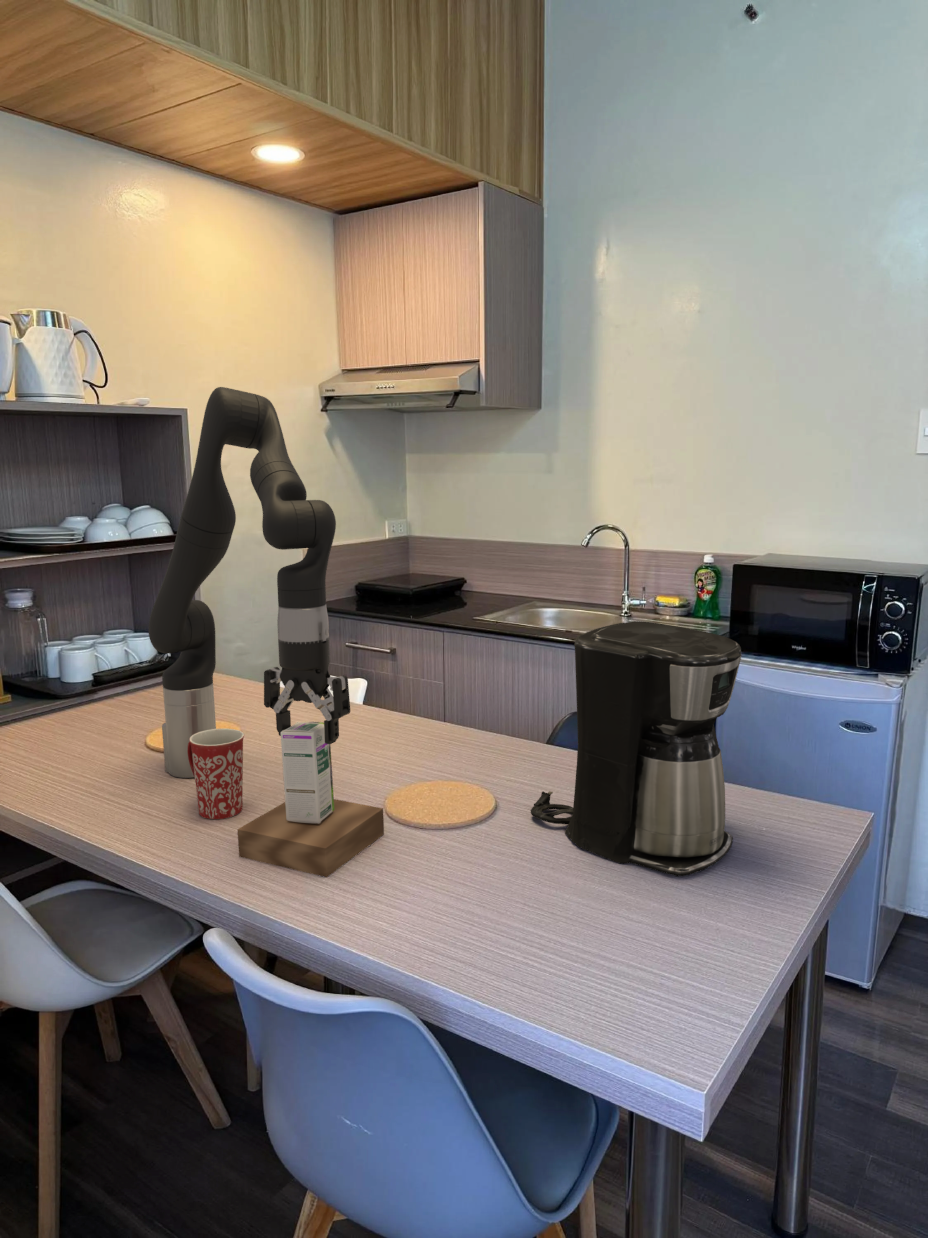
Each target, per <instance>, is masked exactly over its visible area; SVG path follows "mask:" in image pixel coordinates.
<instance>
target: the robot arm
mask: <svg viewBox="0 0 928 1238" xmlns="http://www.w3.org/2000/svg"><path fill="white" fill-rule="evenodd" d="M280 423H281V422H280V419H279V417H278V413H277V411H276V408H275V406H274V405H273V403H272V402H271V400H269V399H268V398H267V397H266V396H263V395H260V394H256V393H252V392H247V391H244V390H239V389H234V388H229V387H225V386H217V387H216V388H214V390H212V392H211V394H210V395H209V397H208V400H207V403H206V405H205V410H204V415H203V419H202V423H201V429H200V436H199V442H198V447H197V451H196V452H197V453H196V458H195V464H194V466H193V467H194V468H193V472H192V476H191V481H190V485H189V488H188V490H187V494H186V498H185V502H184V504H183V508H182V511H181V514H180V515H181V516H180V518H179V523H178V526H177V530H176V536H175V539H174V540H175V541H174V544H173V548H172V551H171V556H170V559H169V562H168V565H167V567H166V568H167V569H166V573H165V575H164V577H163V581H162V583H161V586H160V589H159V590H158V591H159V592H158V593H157V596H156V599H155V601H154V604H153V605H152V610H151V612H150V615H149V620H148V638H149V641H150V643H151V645H152V647H153V649H155V650H156V651H157V652H159V653H162V654H176V653H180V654H179V656H178V658H177V659H176V660H175V661H174V662H173V664H171V665H170V666H169V667H167V668H166V669H165V670H164V671H163V673H162V677H161V681H162V682H161V683H162V691H163V692H162V693H163V706H164V718H165V722H164V723H163V724H162V725H161V730H162V731H161V732H162V745H163V758H164V771H165V772H166V773H167V772H168V773H169V774H170V775H171V776H172V777H176V778H181V779H182V778H184V779H185V778H186V779H188V778H189V779H191V778H195V777H194V775H193V772H192V770H191V767H190V764H189V759H188V752H187V750H188V743H189V739H190V737H191V736H192V735H194V734H196V733H198V732H202V731H206V730H211V729H217V724H216V723H217V722H216V710H215V709H216V706H215V693H214V673H215V670H216V664H217V663H216V662H217V661H216V660H217V659H216V625H215V619H214V615H213V612H212V610H211V609H210V607H209V606H208V604H207V603H205V602H204V601H203V600H199V599H194V596H195V595H196V593H197V591H198V589H199V588H200V587H201V585H202V584H203V583H204V582H205V580H206V579H207V578H208V577H209V576H210V575H211V573H213V571H214V570H215V569H216V567H217V566H219V564H220V563H221V561H222V560H223V559H224V557H225V555H226V554H227V552H228V549H229V547H230V543H231V540H232V536H233V533H234V529H235V526H236V519H237V517H236V516H237V515H236V509H235V505H234V503H233V500H232V497H231V494H230V492H229V489H228V487H227V484H226V482H225V479H224V478H225V477H224V475H223V471H222V455H223V454H222V453H223V449H224V447H225V445H226V446H233V447H239V448H243V449H254V450H256V451H258V452H257V453H256V455H255V457H254V458H253V460H252V462H251V465H250V469H249V477H250V481H251V485H252V487H253V490H254V491H255V493H256V495H257V498H258V499H259V501H260V504H261V509H262V522H261V524H262V525H261V527H262V534H263V537H264V539H265V542H266V543H267V544H268V545H270V546H271V547H273V548H275V549H277V550H285V551H286V550H302V549H303V550H304V549H307V551H306V554H305V555H304V556H303V558H302V559H301V560H299V561H298V562H295V563H292V564H288V565H285V566H283V567H281V568H280V569H279V570H278V572H277V578H276V579H277V580H276V581H277V582H276V585H277V602H278V603H277V605H278V607H277V608H278V611H277V619H276V620H277V624H276V625H277V641H278V644H277V645H278V665H279V667H278V666H275V667H273V668H272V667H271V668H269V669H265V670H264V671H263V705H264V707H265V708H271V709H272V710H273V711H274V713H275V721H276V722H275V726H276V727H275V728H276V732H278V736H279V737H281V733H280V732H282V731H283V730H285V729H287V728H289V727H291V726H292V722H291V721H292V720H291V719H292V718H291V717H292V716H291V710H289V709H290V707H291V705H293V702H302V701H303V702H305V703H306V704H307V703H308V704H312V703H313V705H314V707H315V708H316V709H317V710H319V711H320V712H321V715H322V716H323V718H324V719H325V720H323V723H324V734H325V743H326V744H330V745H332V744H334V743H336V742H337V740H338V739H339V737H340V730H339V729H340V721H339V719H340V718H343V717H346V716H347V715H350V713H351V701H350V690H349V687H350V686H349V678H348V676H347V675H345V674H344V675H341V676H331V674H330V671H329V666H330V662H331V654H330V653H331V652H330V651H331V650H330V628H329V627H330V626H329V624H330V623H329V614H328V609H327V595H326V594H327V591H326V590H327V588H326V576H327V571H328V570H327V569H328V564H329V560H330V554H331V549H332V546H333V543H334V540H335V535H336V534H335V533H336V527H337V521H336V516H335V512H334V510H333V509H332V506H330V505H329V503H327V502H326V501H325V500H320V499H308V500H307V497H308V496H307V489H306V486H305V484H304V482H303V480H302V478H301V477H300V475H299V473H298V471H297V470H296V468H295V466H294V465H293V463H292V461H291V459H290V457H289V453H288V449H287V445H286V441H285V438H284V433H283V430H282V426H281V424H280ZM280 668H281V669H280ZM281 683H282V684H283V687H284V689H282V690H281ZM329 686H330V688H329ZM322 698H323V699H322Z"/></svg>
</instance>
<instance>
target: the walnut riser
mask: <svg viewBox="0 0 928 1238" xmlns="http://www.w3.org/2000/svg"><path fill="white" fill-rule="evenodd" d="M384 823H385V822H384V808H383V807H378V806H373V805H366V804H362V803H357V802H352V801H346V800H340V799H336V798H334V811H333V812H331V813H330V814H329V815H328V816H327V817H326V818H325V819H323V820H322V821H321V823H319V824H318V823H302V822H293V821H287V819H286V806H285V801H284V802H283V803H281V804H280V805H277V806H276V807H274V808H272V809H271V810H268V811H267V812H266V813H263V814H261V815H260V816H258V817H257V818H255V819H253V820H251V821H250V822H248V823H246V824H244V825H242V826H240V827H239V828H237V843H238V845H237V846H238V857H239V858H243V859H246V860H247V859H248V860H251V861H254V862H255V861H256V862H260V863H265V864H268V865H272V866H276V867H280V868H281V867H282V868H286V869H289V870H294V871H299V872H302V873H305V874H306V873H307V874H311V875H315V876H319V875H320V877H323V876H324V878H328V877H330V876H331V875H332V874H334V872H336V871H337V870H339V869H340V868H342V865H343V866H344V865H345V864H346V863H348V862H349V861H351V860H352V859H353V858H354V857H356V856H358V855H359V854H360V853H361V852H363V851H365V850H366V849H367V848H369V847H370V846H371V845H372V844H373V843H375V842H376V841H378V840H379V839H380V838H382V837H383V836H384V835H385V827H384V826H385V825H384Z"/></svg>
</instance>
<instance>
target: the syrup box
mask: <svg viewBox="0 0 928 1238" xmlns="http://www.w3.org/2000/svg"><path fill="white" fill-rule="evenodd" d="M280 733H281V736H280V745H281V759H282V760H281V761H282V763H281V764H282V774H283V775H282V777H283V787H284V788H283V789H284V790H283V791H284V802H285V806H286V819H287V821H293V822H302V823H318V824H319V823H321V821H322V820H323V819H325V818H326V817H327V816H328V815H329V814H330V813H331V812H333V811H334V799H335V797H334V795H335V794H334V782H333V780H334V779H333V765H332V751H331V749H332V747H331V744H326V743H325V734H324V721H323V722H321V721H296V722H295V724H292V725H291V727H289V728H287V729H285V730H283V731H282V732H280Z"/></svg>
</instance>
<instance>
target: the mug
mask: <svg viewBox="0 0 928 1238" xmlns="http://www.w3.org/2000/svg"><path fill="white" fill-rule="evenodd" d="M244 738H245V733H244V732H243V731H241V730H238V729H234V728H216V729H211V730H206V731H202V732H198V733H196V734H194V735H192V736H191V737H190V739H189V743H188V750H187V752H188V759H189V764H190V767H191V770H192V772H193V775H194V777H193V778H194V780H195V781H194V783H195V788H196V789H195V791H196V799H197V807H198V808H197V811H198V813H199V816H201V817H202V818H205V819H207V820H222V819H228V818H232V817H235V816H237V815H239V814H240V813H241V812H242V811H243V804H244V802H243V799H244V797H243V796H244V795H243V784H244V783H243V782H244V780H243V779H244V777H243V774H244V773H243V772H244Z"/></svg>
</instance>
